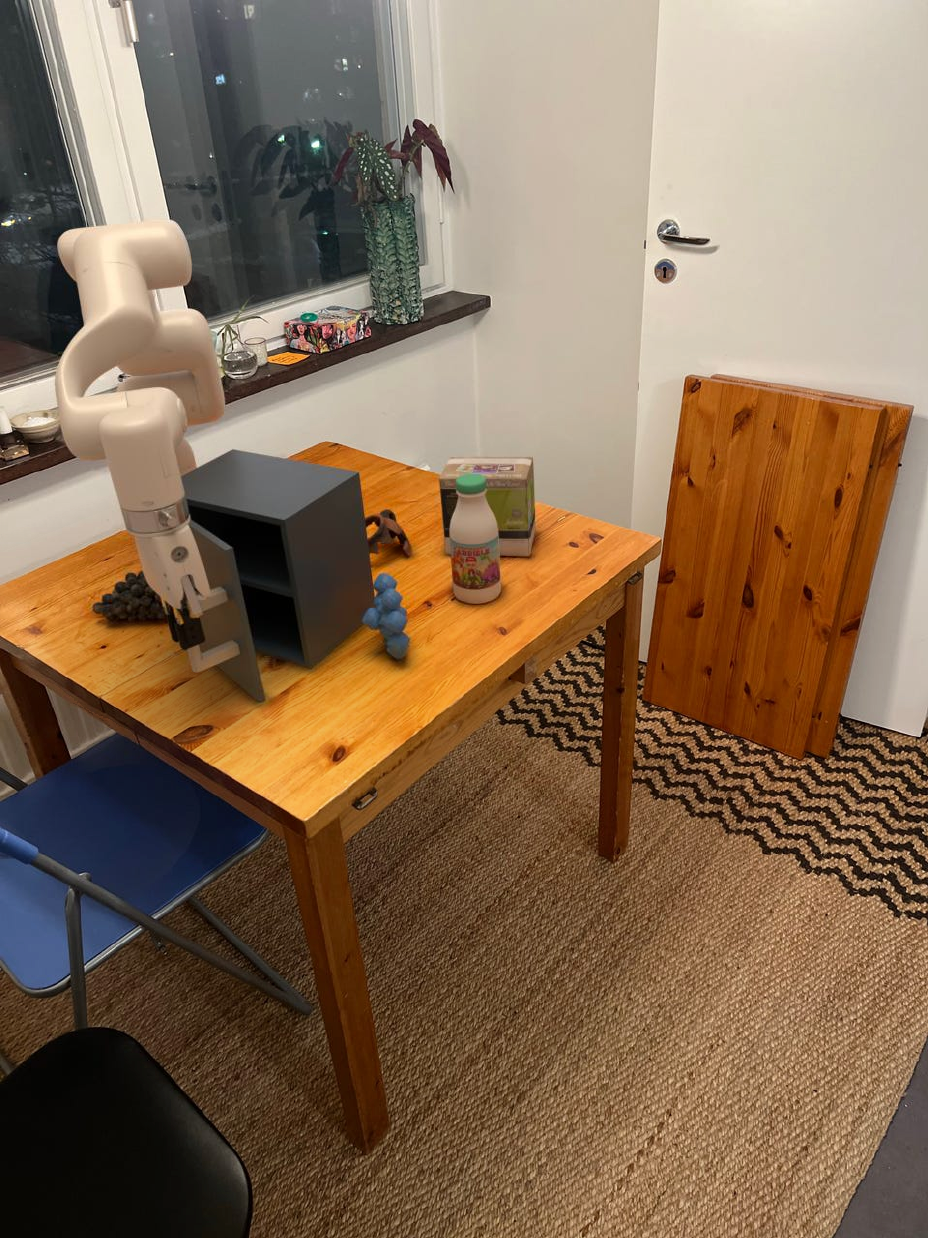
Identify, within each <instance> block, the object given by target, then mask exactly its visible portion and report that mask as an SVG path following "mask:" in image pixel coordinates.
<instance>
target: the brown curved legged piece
mask: <svg viewBox="0 0 928 1238" xmlns="http://www.w3.org/2000/svg"><path fill="white" fill-rule="evenodd" d="M365 522H366V529H367V528H368V527H369V526H371V525H372V524H373V523H374V525H375V526H376V527H377V530H376V531H375V532H374V533H373V534H372V535H371V536H370V537H367V538H368V546H369V554H370V555H371V554H375V555H380V552H379V544H382V545H383V544H392V543H394V541H395V540H394V539H395V538H396V537H397V540H398V543H399V545H401V546H402V551H403V552H405V554H406V557H407V558H410V557H411V554H412V551H413V549H412V546H411V544H410V541H409V538H408V537H407V534H406V532H405V531H404V529H403V527H402V526H401V525H400V524H399V523H398V522H397V517H396V514H395V513H394V512H393V510H391V509H388V508H385V509H384V510H381V511H380V512H379V513H374V514H370V515H368V516H365Z"/></svg>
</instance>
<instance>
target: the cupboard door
mask: <svg viewBox="0 0 928 1238" xmlns="http://www.w3.org/2000/svg"><path fill="white" fill-rule="evenodd" d="M188 525H189V527H190V529H191V532H192V534H193V536H194V539H195V542H196V544H197V547H198V550H199V553H200V556H201V560H202V563H203V566H204V570H205V573H206V577H207V580H208V584H209V587H210V591H211V595H210V597H209V598H203V597H202V596H201V595H199V594H198V593H197V592H196V591H195V590H194V591H195V593H196V596H197V598H198V601H199V604H200V606H201V609H202V612H203V615H201V616H200V620H201V624H202V628H203V632H204V636H205V642H203V643H201V644H199V645H196V646H194V647H192V648H189V649H187V650H186V651H187V655H188V659H189V663H190V666H191V670H192V672H193V673H201V672H203V671H205V670H208V669H211V668H212V667H214V666H216V667H218V669H220V670H221V671H222V672H223V673H225V675H227V676H228V677H229V678H230V679H231V680H232V681H233V682H235V683H236V684H237V685H238V686H239V687H240V688H242V689H243V690H244V691H245V692H246V693H247V694H249V695H250V696H251V697H252V698H253V699H254V700H255V701H257V703H262V702H264V701H266V697H265V696H266V695H265V692H264V687H263V683H262V682H263V681H262V677H261V674H260V669H259V668H260V667H259V663H258V658H257V653H255V649H254V645H253V640H252V635H251V631H250V626H249V621H248V617H247V612H246V607H245V603H244V598H243V594H242V589H241V584H240V580H239V575H238V570H237V566H236V561H235V556H234V552H233V548H232V547H231V546H229V545H228V544H226V543H225V542H223V541H222V540H220V539H219V538H217V537H216V536H214V535H213V534H212V533H210V532H209V531H207V530H206V529H204V528H203V527H201V526H200V525H198V524H197V523H195V522H194V521H192V520H191V519H190V522H189V523H188ZM184 608H187V605H186V606H183V607H181V611H182V609H184Z"/></svg>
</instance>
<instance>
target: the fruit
mask: <svg viewBox="0 0 928 1238" xmlns="http://www.w3.org/2000/svg"><path fill="white" fill-rule="evenodd" d="M124 580H125V581H120V580H119V581H117V582H116V583H115V584H114V589H113V590H112V593H109V592H108V593H104V594H103V595H102V596H101V601H98V602H95V603H93V604H92V606H91V607H92V609H91V610H92V611H93V613H94V614H96V615H102V616H103V617H105V619H106V621H109V622H111V623H114V622H116V621H117V620H125V619H128V621H129V622H131V623H136V622H137V621H138V620H139V619H140V620H141V621H142V620H146V619H147V618H149V619H155V618H157V619H158V620H165V619H167V618H166V616H167V615H169V614H170V613H169V614H166V613H165V611H164V608H163V604H162V601H161V597H160V596H159V595H158V594H157V593H156V592H155V591H154V590H153V589H152V588H151V587H150V586H149V585H148V583H147V581H146V579H145V576H144V573H143V570H141V571H139V572H138V574H136V573H135V572H127V573H126V574H125V576H124Z"/></svg>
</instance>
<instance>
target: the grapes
mask: <svg viewBox="0 0 928 1238" xmlns="http://www.w3.org/2000/svg"><path fill="white" fill-rule="evenodd" d="M397 586H398V580H396V579H395V578H394V577H393V576H392V575H390V574H389V573H379V574H378V575H377V577H375V580H374V581H373V588H374V591H376V594H375V598H374V604H375V605H376V607H375V608H369V609H368V610H367V611H366V613H365V615H364V617H363V620H362V622H363V623H364V625H365V626H366V627H367V628H369V629H370V630H371V631H379V632H380V633H379V634H380V635H382V637H383V639H382V643H383V644H384V645H385V646H386V651H387V653H388V654H389V655H391V657H393V658H394V659H396V660H402V659H404V658H405V656H406V655H407V652H408V649H409V648H410V647H409V646H410V645H409V644H410V642H411V638H410V637H409V636H408V635H407V634H406V633H405V632H404V631H405V629H406V626H407V624H408V621H409V619H408V618H407V614H408V611H407V609H405V608H404V607H403V606H402V605H401V604H402V601H403V600H404V599H403V598H404V596H402V594H401V593H400V592H399V591H398V590H396V588H397Z"/></svg>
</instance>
